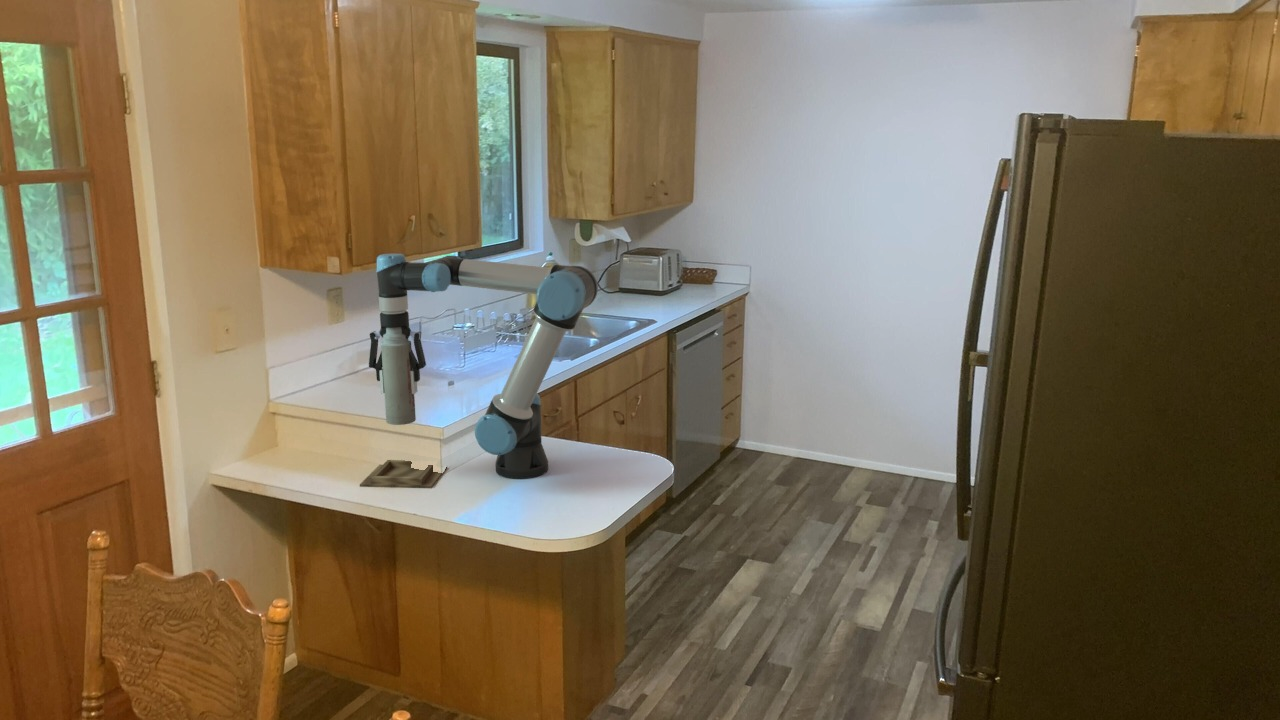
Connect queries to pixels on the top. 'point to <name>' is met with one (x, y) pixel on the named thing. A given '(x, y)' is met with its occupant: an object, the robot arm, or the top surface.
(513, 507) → the top surface
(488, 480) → the top surface
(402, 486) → the brown wooden tray
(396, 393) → the thermos bottle
